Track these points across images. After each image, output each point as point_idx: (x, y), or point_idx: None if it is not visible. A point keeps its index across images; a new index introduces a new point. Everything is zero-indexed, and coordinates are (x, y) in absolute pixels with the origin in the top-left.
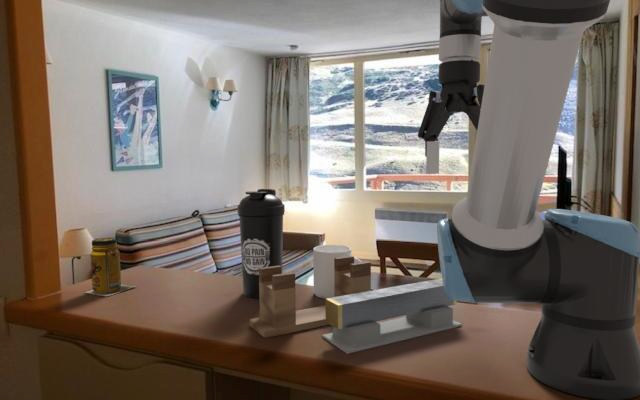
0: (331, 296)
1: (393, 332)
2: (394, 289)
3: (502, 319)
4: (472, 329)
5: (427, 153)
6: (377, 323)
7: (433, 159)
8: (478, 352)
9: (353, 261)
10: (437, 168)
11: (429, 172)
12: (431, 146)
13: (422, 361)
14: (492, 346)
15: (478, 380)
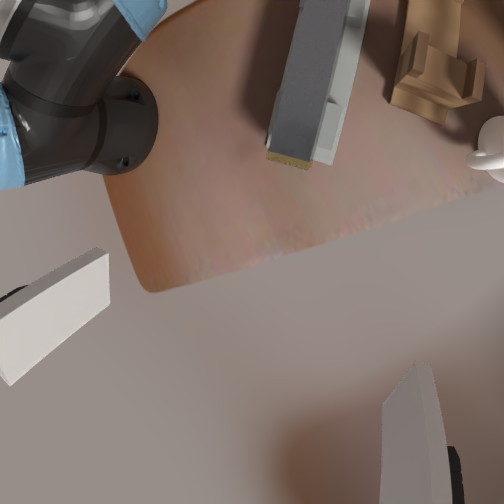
0: (487, 120)
1: None
2: (322, 44)
3: (241, 214)
4: (249, 146)
5: (441, 452)
6: (303, 5)
7: (405, 440)
8: (203, 85)
9: (468, 95)
10: (387, 417)
11: (413, 370)
12: (417, 499)
13: (233, 20)
14: (201, 113)
15: (171, 35)
